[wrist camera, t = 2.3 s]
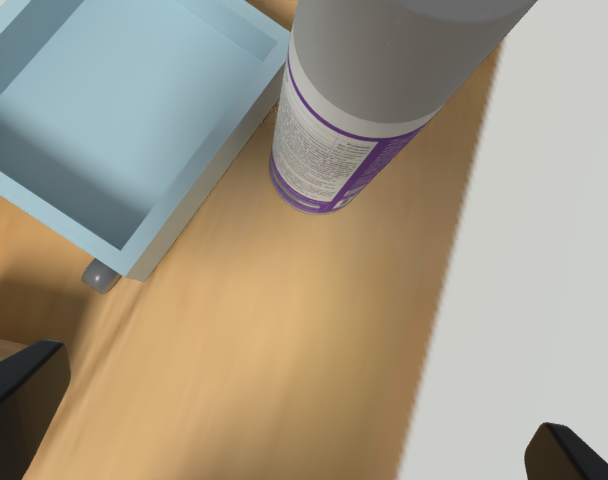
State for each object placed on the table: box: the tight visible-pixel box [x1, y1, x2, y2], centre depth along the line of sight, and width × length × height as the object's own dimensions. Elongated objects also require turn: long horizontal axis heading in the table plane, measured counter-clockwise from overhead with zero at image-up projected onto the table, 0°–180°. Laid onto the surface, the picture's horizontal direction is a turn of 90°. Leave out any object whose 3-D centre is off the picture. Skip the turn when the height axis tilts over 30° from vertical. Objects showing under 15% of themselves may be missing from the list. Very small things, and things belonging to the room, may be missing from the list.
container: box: [269, 0, 537, 215], centre depth 15 cm, size 5×5×15 cm
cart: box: [0, 0, 291, 294], centre depth 20 cm, size 15×10×4 cm
